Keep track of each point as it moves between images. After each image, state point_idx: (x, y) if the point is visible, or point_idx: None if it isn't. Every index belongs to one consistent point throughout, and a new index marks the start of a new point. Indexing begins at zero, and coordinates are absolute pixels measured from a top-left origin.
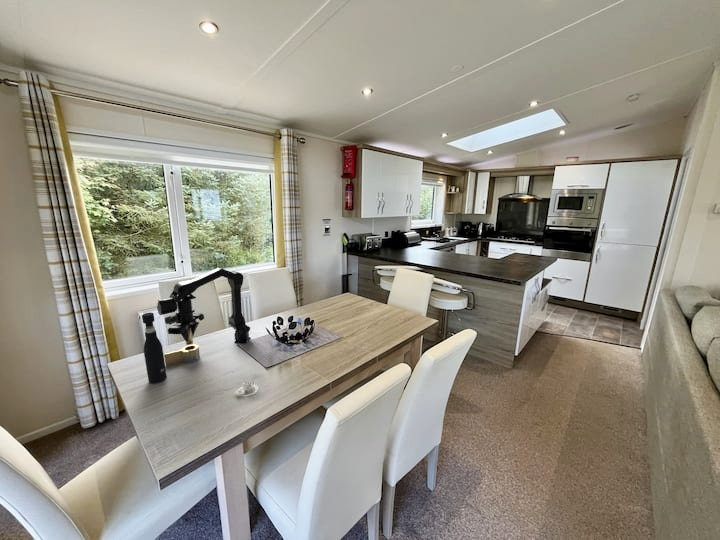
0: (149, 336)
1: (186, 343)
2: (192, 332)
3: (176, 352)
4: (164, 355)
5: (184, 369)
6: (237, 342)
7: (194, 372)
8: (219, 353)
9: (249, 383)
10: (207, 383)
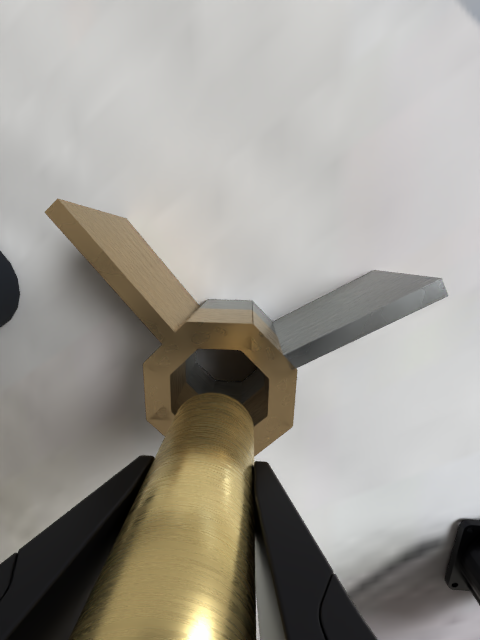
0: None
1: (171, 424)
2: (261, 632)
3: (130, 304)
4: (52, 216)
5: (104, 377)
6: (457, 543)
7: (86, 448)
8: (311, 485)
9: None
10: (14, 548)
